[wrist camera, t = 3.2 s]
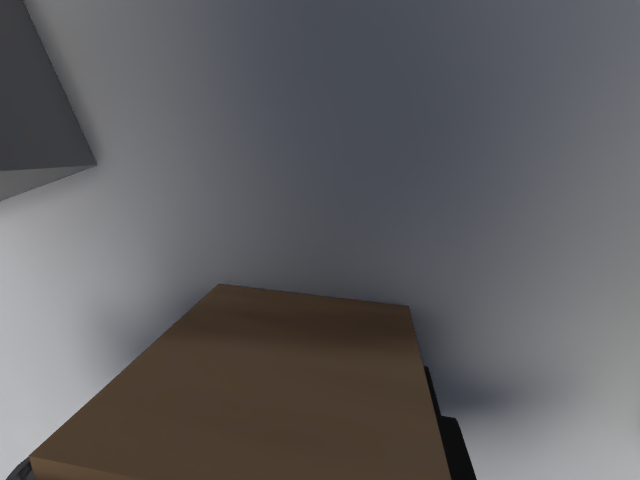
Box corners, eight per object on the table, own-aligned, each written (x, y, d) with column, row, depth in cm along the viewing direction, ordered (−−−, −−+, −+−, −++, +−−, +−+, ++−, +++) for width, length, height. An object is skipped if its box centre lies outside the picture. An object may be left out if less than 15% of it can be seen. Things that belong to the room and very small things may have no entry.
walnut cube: (218, 284, 10) (28, 456, 5) (408, 306, 9) (468, 547, 4) (224, 429, 12) (93, 685, 6) (386, 458, 11) (402, 780, 5)
